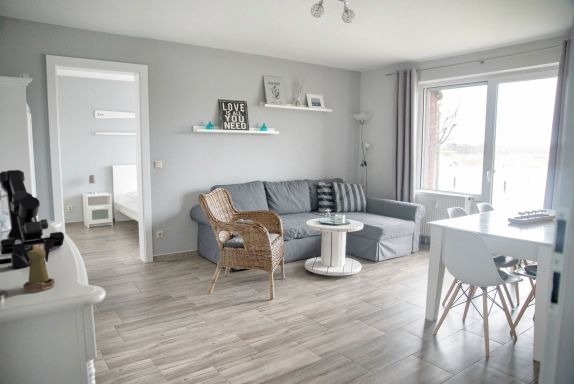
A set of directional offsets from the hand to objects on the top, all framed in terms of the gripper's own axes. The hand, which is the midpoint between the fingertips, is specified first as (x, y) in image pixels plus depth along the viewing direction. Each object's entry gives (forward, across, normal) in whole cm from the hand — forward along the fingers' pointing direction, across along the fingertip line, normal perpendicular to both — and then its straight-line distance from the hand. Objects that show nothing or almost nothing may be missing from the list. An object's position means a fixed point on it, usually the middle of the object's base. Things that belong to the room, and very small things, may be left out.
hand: (38, 262), depth 138 cm
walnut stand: (+6, 0, +7) cm, 9 cm away
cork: (+4, 0, +6) cm, 7 cm away
